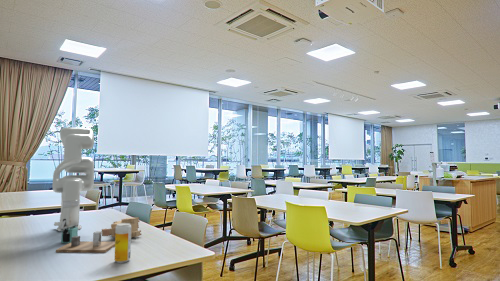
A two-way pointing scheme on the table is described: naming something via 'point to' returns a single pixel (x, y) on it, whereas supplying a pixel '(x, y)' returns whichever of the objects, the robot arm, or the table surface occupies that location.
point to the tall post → (97, 238)
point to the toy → (132, 222)
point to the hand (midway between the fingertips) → (69, 239)
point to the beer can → (122, 242)
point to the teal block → (71, 234)
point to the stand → (85, 246)
